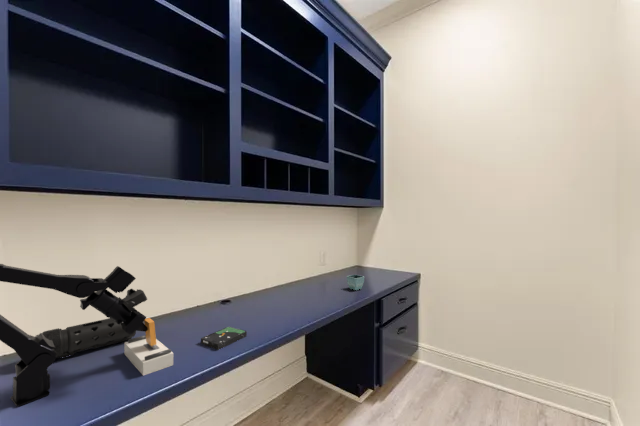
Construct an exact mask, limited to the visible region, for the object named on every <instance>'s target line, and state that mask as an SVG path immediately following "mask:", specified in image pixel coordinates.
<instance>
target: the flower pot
mask: <svg viewBox="0 0 640 426" xmlns="http://www.w3.org/2000/svg"><path fill="white" fill-rule="evenodd" d="M364 282H365V276H364V275H359V274H350V275H346V283H347V286H348V288H349V289H350V290H352V289H353V290H352V291H355V290H356V291H359V289H360V290H361V289H362V288H363V286H364Z"/></svg>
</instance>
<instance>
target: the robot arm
mask: <svg viewBox="0 0 640 426" xmlns="http://www.w3.org/2000/svg"><path fill="white" fill-rule="evenodd" d="M135 280H136V277H135V276H134V275H133V274H131V273H130V272H128V271H126V270H125V269H123V268H121V266H118V265H117V266H116V267H114V269H112V271H111V272H110V273H109V274H108V275H107V276H106V277H105V278H100V277H96V278H95V277H92V278H91V277H90V276H88V275H84V274H55V273H50V272H49V273H48V272H43V271H37V270H32V269H27V268H21V267H15V266H11V265H6V264H3V263H0V282H3V283H10V284H16V285H22V286H23V285H24V286H29V287H35V288H36V287H37V288H42V289H50V290H54V291H56V292H57V291H58V292H61V293H63V294H65V295H69V296H72V297H75V298H78V299H80V300H79V301H80V306H79V307H80V309H82V310H83V311H85V310H86V309H87V308H88V307H89V306H91V307H92V308H94V309H95V310H97V311H99V312H100V313H101V314H103V315H104V316H105V317H106V318H107V319H108V318H111V319H112V320H114V321H115V322H116V323H117V324H119V325H120V323H121V322H122V323H121V326H122V329H123V330H124V331H125V332H127V333H128V334H130V335H131V334H132V333H133V332H134V331H136V332H144V333H145V332H146V331H147V330H148V328H147V327H146V325H145V322H144V320H145V319H147V316H146V315H144V314H143V313H141V312H140V311H138V310H137V309H136V308H135V307H137V306H139V305H140V304H142V303H145V302H146V301H147V300H148V297H147V296H146V293H145V292H144V290H142V289H136V290H135V289H133V288H130V289H128V290H127V291H126V295H125V297H123V298H121V297H120V296H116V294H117V293H124V291H125V290H126V289H127V288H128V287H129V286H130V285H131V284H132V283H133V282H134V281H135ZM108 289H110V290H111V291H112V292H114V294H113V293H112V292H111V291H109V290H108ZM42 333H43V332H39V334H37V335H38V336H37V337H35V336H34V335H31V334H28V333H26V332H25V331H24V330H23V329H21V328H19V327H18V326H17V325H16V324H14V323H13V322H11V321H10V320H8V319H7V318H6V317H5V316H3V315H2V314H0V342H2V343H3V344H4V345H7V347H10V348H11V349H12V350H14V352H15V353H16V354H17V355H18V357H19V359H20V360H19V361H18V362H16V364H15V365H14V367H15V369H14V370H15V376H13V378H12V395H11V396H10V400H11V401H12V402H13V404H14V405H15V406H16V407H22V406H23V405H25V404H26V405H27V404H28V403H31V402H35V401H36V400H39V399H42V398H45V397H47V396H49V395H50V394H51V392H50V389H51V375H50V373H48V372H49V370H48V368H49V367H50V366H53V365H52V364H54V363H55V361H56V359H57V358H56V352H55V350H54V349H55V346H54V344H53V341H52V340H49V339H47V338H45V336H44V335H43V334H42Z"/></svg>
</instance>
